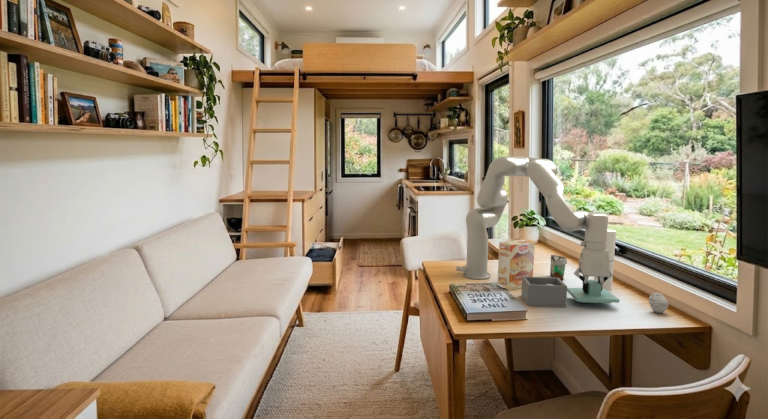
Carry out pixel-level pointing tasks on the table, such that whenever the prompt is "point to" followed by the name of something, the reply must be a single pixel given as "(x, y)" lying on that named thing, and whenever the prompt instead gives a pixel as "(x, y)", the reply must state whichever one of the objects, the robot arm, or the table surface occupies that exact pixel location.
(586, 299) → the lid
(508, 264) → the coffeecake box
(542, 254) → the table surface
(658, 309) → the grey rock
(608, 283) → the cylindrical container
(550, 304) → the storage box
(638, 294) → the table surface
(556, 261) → the food container
